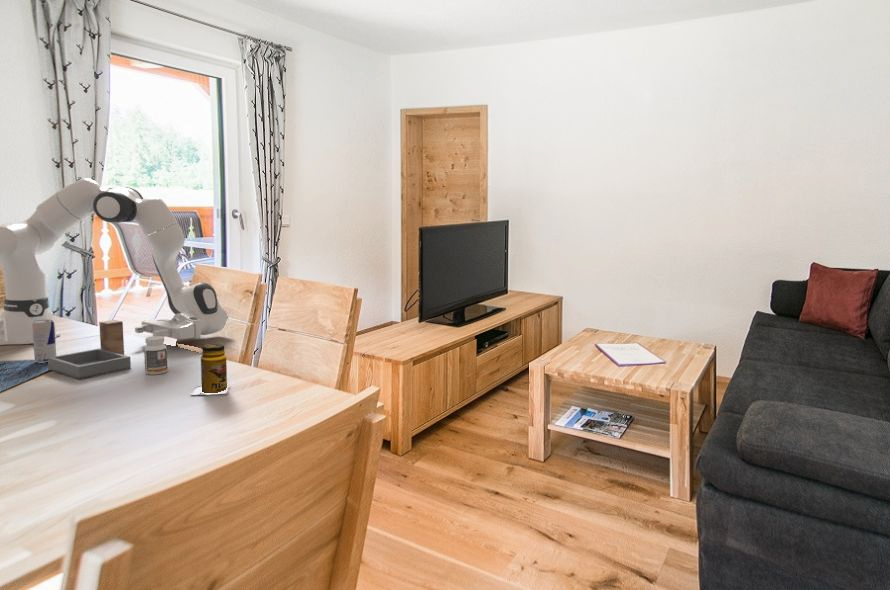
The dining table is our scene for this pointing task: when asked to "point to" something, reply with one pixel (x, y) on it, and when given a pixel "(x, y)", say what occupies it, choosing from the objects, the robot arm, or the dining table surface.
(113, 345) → the walnut block
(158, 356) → the pill bottle
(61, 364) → the tote
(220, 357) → the condiment
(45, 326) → the energy drink
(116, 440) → the dining table surface
